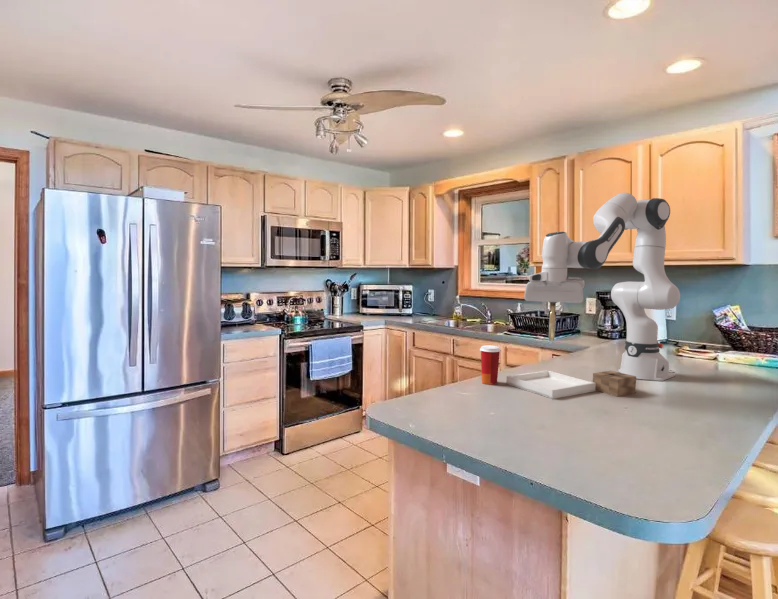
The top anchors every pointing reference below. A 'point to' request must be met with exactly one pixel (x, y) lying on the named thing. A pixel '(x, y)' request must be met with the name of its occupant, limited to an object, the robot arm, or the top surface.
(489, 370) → the paper cup
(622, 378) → the walnut block
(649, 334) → the robot arm
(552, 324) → the brass pin
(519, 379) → the off-white tray
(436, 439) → the top surface
